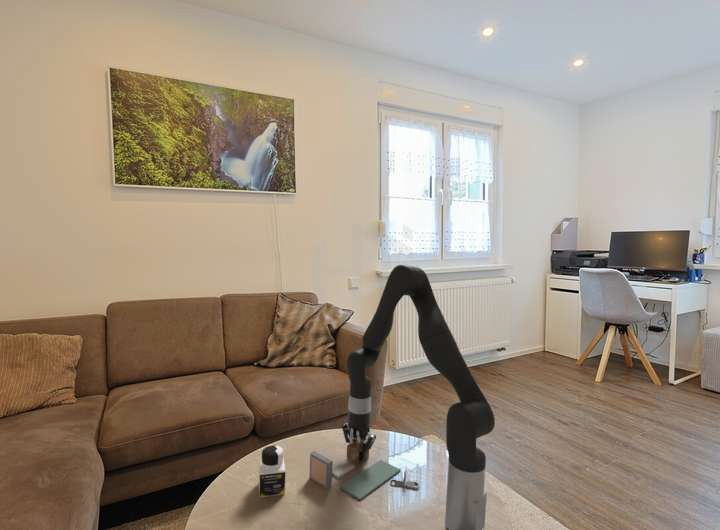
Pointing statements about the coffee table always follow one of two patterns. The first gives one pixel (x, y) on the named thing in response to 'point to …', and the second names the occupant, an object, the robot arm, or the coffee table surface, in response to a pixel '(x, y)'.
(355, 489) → the mat
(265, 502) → the coffee table surface
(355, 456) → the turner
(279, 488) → the medicine bottle
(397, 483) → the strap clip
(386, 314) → the robot arm
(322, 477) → the tile
